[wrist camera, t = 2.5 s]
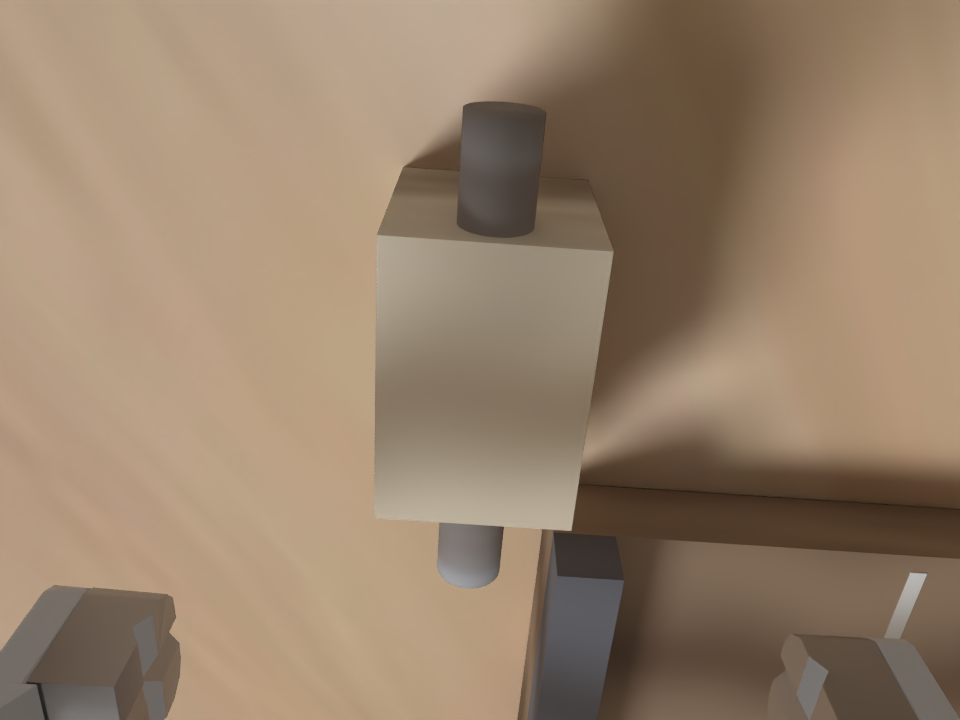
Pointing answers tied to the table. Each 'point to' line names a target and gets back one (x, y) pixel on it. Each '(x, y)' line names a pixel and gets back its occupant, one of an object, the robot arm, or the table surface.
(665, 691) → the board
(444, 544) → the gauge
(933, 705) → the robot arm
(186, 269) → the table surface
